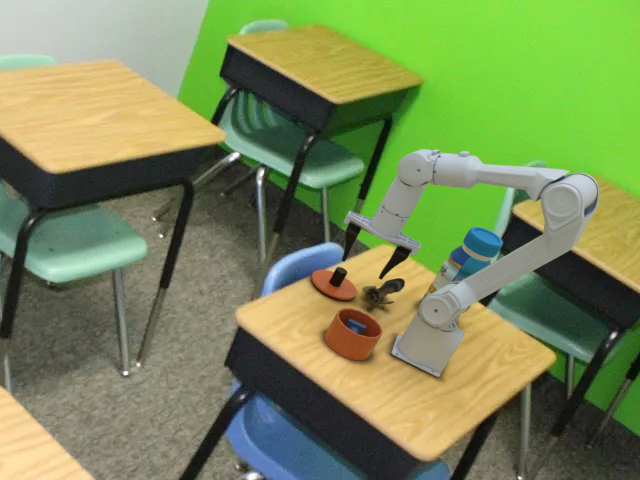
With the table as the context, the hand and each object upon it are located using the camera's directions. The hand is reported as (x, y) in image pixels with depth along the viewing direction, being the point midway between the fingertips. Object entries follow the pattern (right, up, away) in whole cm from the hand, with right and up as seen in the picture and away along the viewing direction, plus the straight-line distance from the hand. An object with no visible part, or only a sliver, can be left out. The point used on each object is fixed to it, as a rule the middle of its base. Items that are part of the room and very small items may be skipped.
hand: (362, 268), depth 181 cm
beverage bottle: (+20, -9, +13) cm, 25 cm away
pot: (-5, -15, -6) cm, 17 cm away
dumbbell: (-5, -14, -6) cm, 16 cm away
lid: (-2, -3, +10) cm, 11 cm away
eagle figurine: (+6, -7, +10) cm, 14 cm away
